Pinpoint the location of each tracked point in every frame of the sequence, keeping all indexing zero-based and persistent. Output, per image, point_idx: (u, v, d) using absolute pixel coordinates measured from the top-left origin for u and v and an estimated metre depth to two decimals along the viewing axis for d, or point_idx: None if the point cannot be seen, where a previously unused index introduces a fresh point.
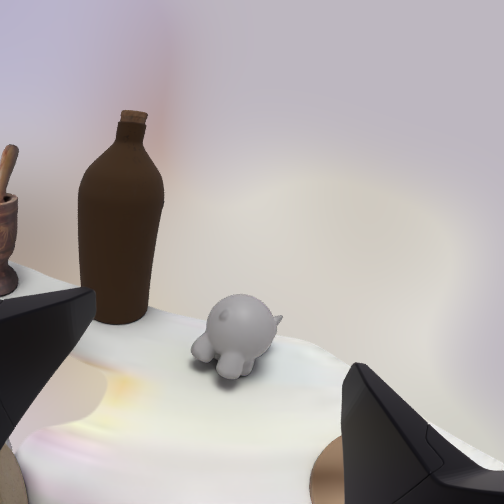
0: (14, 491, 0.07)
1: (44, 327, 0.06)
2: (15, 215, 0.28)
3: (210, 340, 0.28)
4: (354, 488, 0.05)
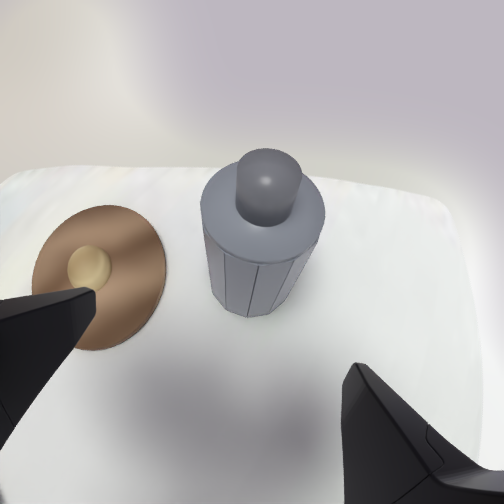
0: None
1: (44, 327, 0.06)
2: None
3: None
4: (354, 489, 0.05)
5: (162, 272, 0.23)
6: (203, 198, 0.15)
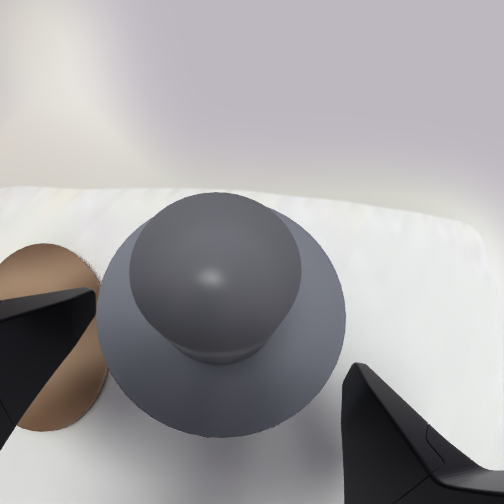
0: None
1: (44, 327, 0.06)
2: None
3: None
4: (354, 488, 0.05)
5: None
6: (102, 292, 0.07)
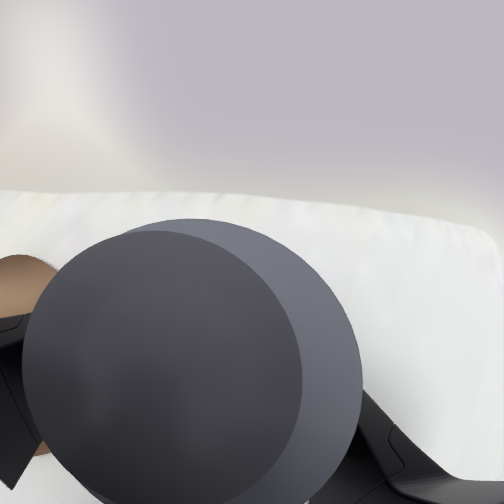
0: None
1: None
2: None
3: None
4: None
5: None
6: None
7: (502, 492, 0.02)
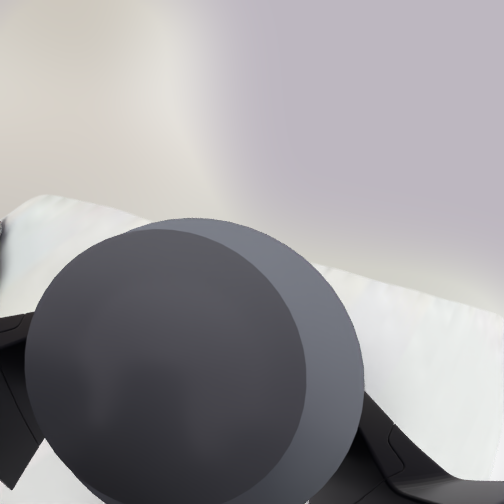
0: None
1: None
2: None
3: None
4: None
5: None
6: None
7: (502, 492, 0.02)
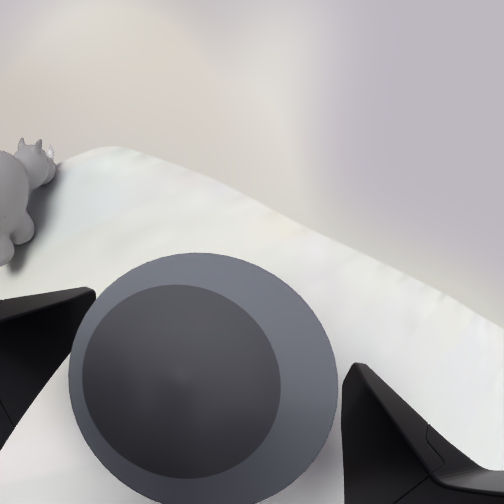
0: None
1: (44, 327, 0.06)
2: None
3: None
4: (354, 488, 0.05)
5: None
6: (73, 363, 0.06)
7: None
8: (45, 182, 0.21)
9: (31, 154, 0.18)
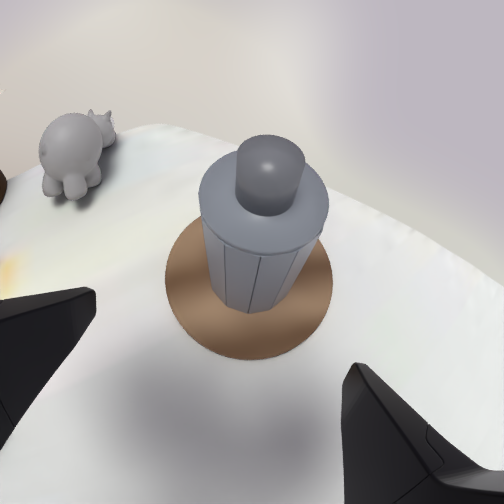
0: None
1: (44, 327, 0.06)
2: None
3: (49, 175, 0.23)
4: (354, 488, 0.05)
5: (328, 303, 0.23)
6: (201, 188, 0.14)
7: None
8: (107, 145, 0.30)
9: (102, 120, 0.26)
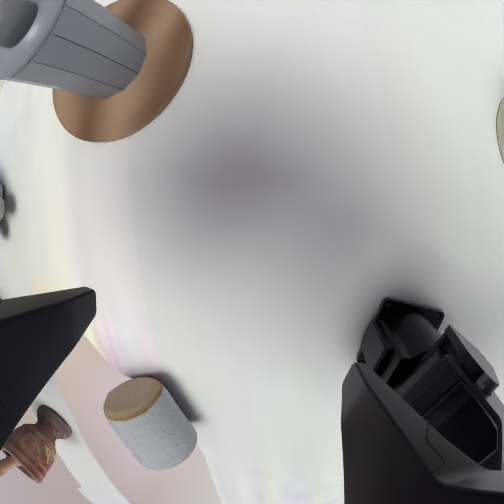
0: (132, 392, 0.24)
1: (44, 327, 0.06)
2: (8, 439, 0.23)
3: None
4: (354, 489, 0.05)
5: (173, 5, 0.16)
6: None
7: None
8: None
9: None
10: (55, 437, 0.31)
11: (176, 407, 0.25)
